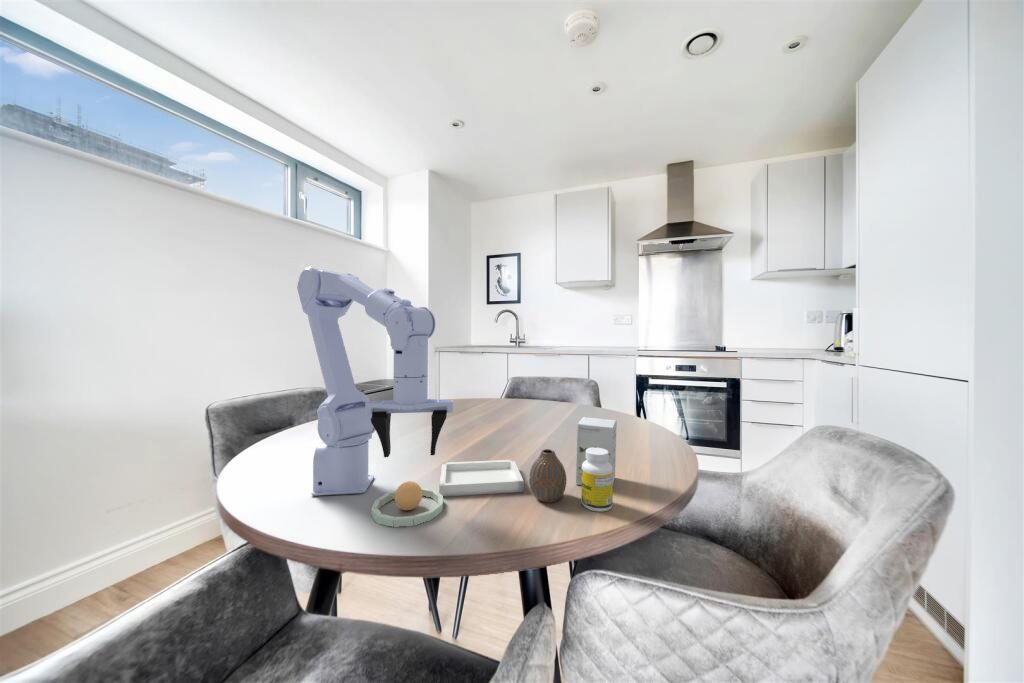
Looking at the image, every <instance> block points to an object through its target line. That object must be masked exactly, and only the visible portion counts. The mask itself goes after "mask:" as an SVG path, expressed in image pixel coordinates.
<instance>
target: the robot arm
mask: <svg viewBox="0 0 1024 683" xmlns="http://www.w3.org/2000/svg"><path fill="white" fill-rule="evenodd" d="M298 278H299V279H298V282H297V286H296V287H297V292H298V297H299V301H300V305H301V309H302V311H303V313H304V314H305V315H307V318H308V324H309V328H310V331H311V335H312V340H313V342H314V347H315V351H316V355H317V358H318V363H319V367H320V370H321V374H322V378H323V381H324V382H323V383H324V386H325V391H326V393H327V396H326V398H325V400H324V401H323V402H321V404H320V405H319V407H318V408H317V409H316V413H317V433H318V436H319V438H320V440H321V441H322V442H320V443H318V445H317V446H316V448H315V450H314V454H313V460H312V492H311V497H312V496H314V497H315V496H329V495H330V496H331V495H333V496H334V495H347V494H348V495H350V494H353V495H354V494H364V493H365V492H366V491H367V489H368V487H369V486H370V485H371V483H372V481H373V479H374V478H375V475H374V474H369V446H370V445H369V442H370V441H369V440H371V439H373V438H372V437H373V434H374V433H375V432H376V434H377V436H378V438H379V442H380V444H381V448H382V453H383V458H390V457H389V456H390V455H391V447H392V446H391V418H392V417H391V416H392V414H408V413H409V414H410V413H412V414H413V413H415V414H416V413H419V414H420V413H431V440H430V441H431V442H430V456H435V455H436V449H437V448H436V446H437V443H438V439H439V435H440V434H441V431H442V428H443V426H444V425H445V421H446V419H447V416H448V415H447V414H451V413H454V399H438V398H437V399H436V398H435V399H433V398H431V399H430V398H428V396H429V394H428V393H429V392H428V389H429V388H428V387H429V384H428V381H429V374H428V373H429V339H430V338H431V337H432V336H433V334H434V333H435V330H436V318H435V315H434V314H433V312H432V311H431V310H430V309H429V308H428V307H427V306H420V307H415V306H414V305H413V304H412V301H410V300H409V299H405V298H400V297H398V296H397V295H396V294H395V293H396V292H395V291H394V290H393V289H391V288H384V289H377V290H375V289H373V288H371V287H370V286H369V285H367V284H366V283H365V282H363V281H361V280H360V277H358V276H357V275H356V276H355V275H354V274H351V273H342V272H335V271H332V270H325V269H319V268H315V267H313V266H307V267H305V268H304V269H303V270H302V271H301V273H300V275H299V277H298ZM353 302H355V303H358V304H360V305H361V306H364V312H365V313H366V315H367V316H368V317H369V318H371V319H373V320H375V321H376V322H377V323H379V324H380V325H382V326H383V327H385V329H386V332H387V334H388V336H389V338H390V347H391V350H393V383H392V384H393V386H392V387H393V393H392V394H393V395H392V396H393V397H392V398H393V399H389V400H388V399H387V400H370V397H369V396H368V395H367V394H365V393H363V392H362V391H359V390H358V389H357V387H356V384H355V379H354V375H353V372H352V368H351V365H350V361H349V358H348V354H347V351H346V347H345V344H344V340H343V337H342V333H341V332H342V331H341V329H340V324H339V318H342V317H344V316H345V315H346V314H347V312H348V311H349V309H350V307H351V306H352V304H353Z"/></svg>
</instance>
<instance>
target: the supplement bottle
mask: <svg viewBox="0 0 1024 683" xmlns="http://www.w3.org/2000/svg"><path fill="white" fill-rule="evenodd" d="M608 458H609V452H608V451H607V450H605V449H602V448H588V449H586V459H587V460H586V461H584V462H583V464H582V485H581V504H582V505H583V507H584V508H586V509H587V510H589V511H592V512H599V513H601V512H607V511H609V510H611V509H612V507H613V487H612V484H613V485H614V482H613V481H612V480H613V468H612V465H611V464H610V463H609V462H607V461H608V460H609V459H608Z"/></svg>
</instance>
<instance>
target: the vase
mask: <svg viewBox="0 0 1024 683" xmlns="http://www.w3.org/2000/svg"><path fill="white" fill-rule="evenodd" d="M530 467H531V468H530V470H529V474H528V481H529V488H530V491H531V493H532V494H533V496H534V497H535V498H536V499H537V500H538V501H539V502H542V503H548V504H549V503H551V504H552V503H555V502H557V501H559V500H560V499H561V498H562V497H563V495H564V493H565V491H566V488H567V472H566V469H565V467H564V464H563V463H562V462H561V460H560V459H559V457H558V456H557V455H556V452H555V450H553V449H550V448H549V449H548V448H546V449H542V450H541V452H540V454H539V456H538V457H537V458H536V459H535V461H534V462H533V463H532V465H531V466H530Z"/></svg>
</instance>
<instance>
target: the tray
mask: <svg viewBox="0 0 1024 683" xmlns="http://www.w3.org/2000/svg"><path fill="white" fill-rule="evenodd" d="M440 470H441V471H440V478H439V491H438V492H439V493H440V494H441V495H443V496H444V497H458V496H459V497H460V496H461V497H462V496H473V495H474V496H475V495H493V494H509V493H510V494H511V493H524V490H525V489H524V485H525V484H524V482H525V481H524V479H523V476H522V473H521V472H520V470H519V468H518V465H517V463H516V461H515V460H514V459H501V460H500V459H499V460H479V461H478V460H475V461H454V462H453V461H452V462H451V461H450V462H442V463H441V469H440Z"/></svg>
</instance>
